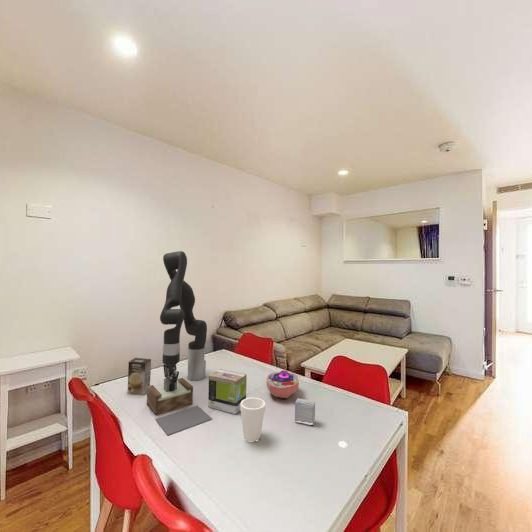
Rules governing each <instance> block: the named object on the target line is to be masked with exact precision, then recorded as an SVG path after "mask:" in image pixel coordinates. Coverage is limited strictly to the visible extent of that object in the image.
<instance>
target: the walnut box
mask: <svg viewBox="0 0 532 532" xmlns="http://www.w3.org/2000/svg"><path fill="white" fill-rule="evenodd" d="M177 382H179V383H181V384H182V385H183V386H184V387H185V388H187V389H190V390H191V392H190V393H186V394H182V395H179V396H175V397H172V398H168V399H164V400H161V401H158V398H159V397H162V394H161V393H160V392H159V391H158V390H157V389H156V388H155V387H156V386H154V385H151V384H150V386H147V393H146V406H147V407H148V409H149V410H150V411H151V412H152V414H153V415H154V416H156V417H157V416H160V415H162V414H166V413H169V412H172V411H176V410H179V409H182V408H186V407H189V406H192V405H193V404H194V401H193V399H194V395H193V394H194V386H193V385H192V384H191V383H190V382H189V381H187V380H186V379H185V378H183V377H181V378H178V380H177Z"/></svg>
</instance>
